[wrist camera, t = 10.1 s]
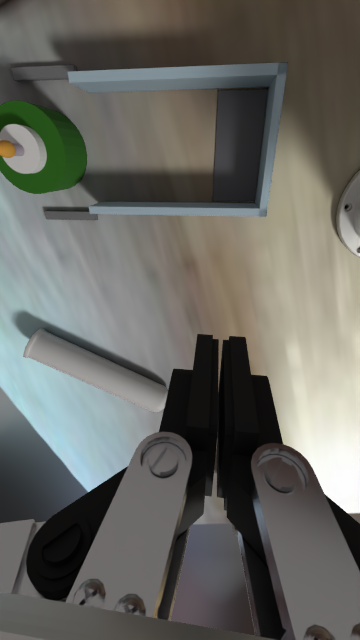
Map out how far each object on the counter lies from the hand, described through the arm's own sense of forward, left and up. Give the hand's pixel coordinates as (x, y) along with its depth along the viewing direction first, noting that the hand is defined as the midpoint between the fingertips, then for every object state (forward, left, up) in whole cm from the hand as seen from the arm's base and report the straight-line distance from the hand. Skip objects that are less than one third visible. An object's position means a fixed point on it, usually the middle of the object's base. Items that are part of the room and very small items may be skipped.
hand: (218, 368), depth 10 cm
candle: (+20, -8, -29) cm, 37 cm away
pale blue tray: (+5, -8, -29) cm, 30 cm away
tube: (+18, +25, -30) cm, 43 cm away
